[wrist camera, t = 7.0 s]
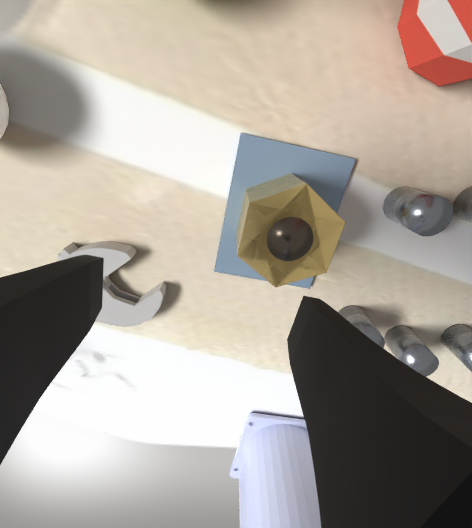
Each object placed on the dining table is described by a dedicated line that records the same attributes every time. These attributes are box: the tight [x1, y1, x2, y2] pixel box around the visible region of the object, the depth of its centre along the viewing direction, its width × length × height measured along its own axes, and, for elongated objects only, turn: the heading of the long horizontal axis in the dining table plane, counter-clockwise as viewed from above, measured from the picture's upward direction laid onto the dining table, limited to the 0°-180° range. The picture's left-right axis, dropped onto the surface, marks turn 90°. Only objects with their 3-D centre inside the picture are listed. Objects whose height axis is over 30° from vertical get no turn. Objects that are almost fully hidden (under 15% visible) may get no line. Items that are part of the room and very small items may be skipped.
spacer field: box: [338, 186, 472, 377], centre depth 19 cm, size 13×14×3 cm
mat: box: [214, 133, 356, 289], centre depth 19 cm, size 9×7×1 cm
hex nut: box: [236, 174, 345, 287], centre depth 17 cm, size 6×5×4 cm
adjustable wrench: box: [56, 242, 167, 327], centre depth 20 cm, size 25×6×2 cm, turn 97°
